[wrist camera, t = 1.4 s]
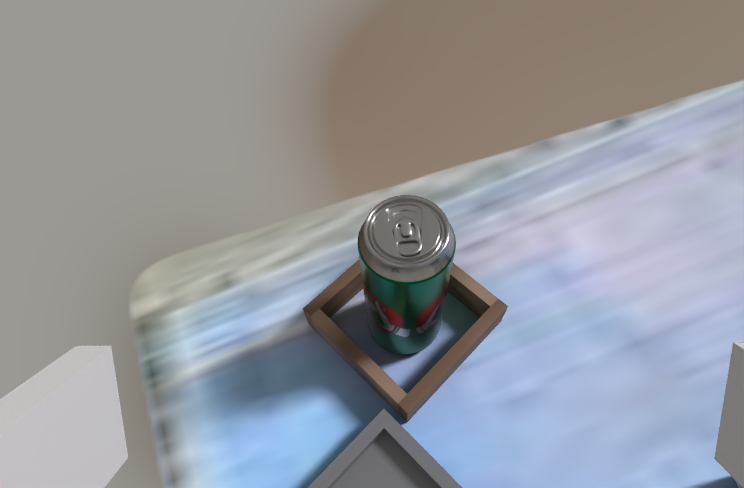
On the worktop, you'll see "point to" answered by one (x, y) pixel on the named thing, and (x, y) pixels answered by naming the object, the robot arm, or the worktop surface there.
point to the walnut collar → (397, 398)
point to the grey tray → (384, 461)
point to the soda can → (405, 271)
